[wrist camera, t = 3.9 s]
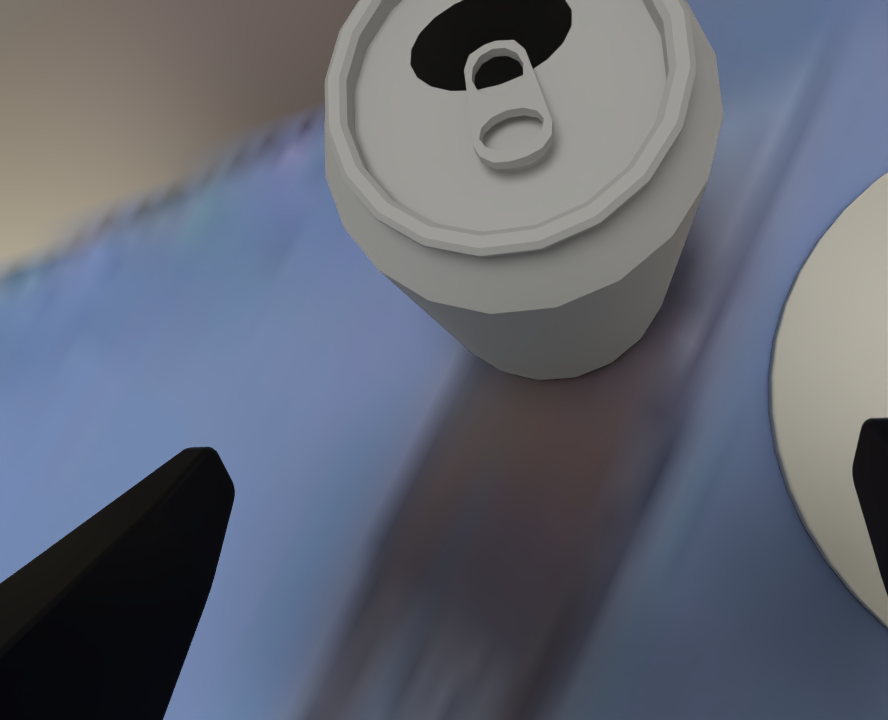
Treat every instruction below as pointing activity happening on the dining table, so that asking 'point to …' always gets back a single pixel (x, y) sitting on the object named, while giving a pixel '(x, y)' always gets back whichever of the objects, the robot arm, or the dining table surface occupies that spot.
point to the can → (524, 165)
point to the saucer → (835, 386)
